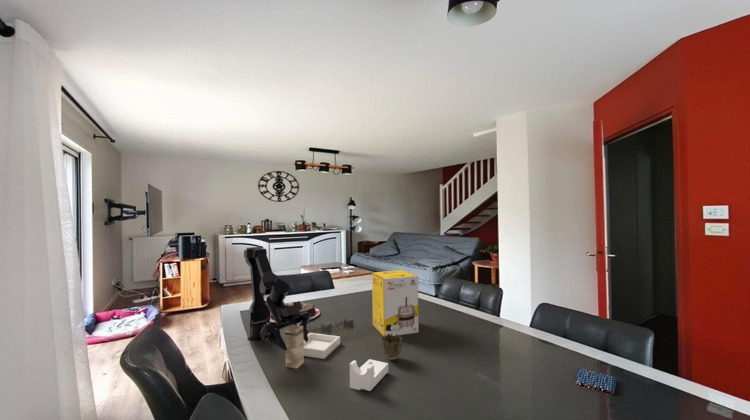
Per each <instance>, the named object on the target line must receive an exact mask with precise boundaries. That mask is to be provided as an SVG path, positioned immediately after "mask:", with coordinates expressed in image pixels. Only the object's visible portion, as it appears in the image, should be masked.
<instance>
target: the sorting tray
mask: <svg viewBox="0 0 750 420" xmlns="http://www.w3.org/2000/svg"><path fill="white" fill-rule="evenodd" d="M307 335H308V341H307V342H306V341H305V340H304V339H303V349H304V357H309V358H315V359H322V360H325V359H326V358H327V357H328V356H329V355H330V354H332V352H334V351H335V349H336V348H338V347H339V346H340V345H341V336H338V335H331V334H330V335H329V334H323V333H315V332H309V333H307Z"/></svg>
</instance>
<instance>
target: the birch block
mask: <svg viewBox="0 0 750 420" xmlns="http://www.w3.org/2000/svg"><path fill="white" fill-rule="evenodd" d="M284 335H285V336H284V343H285V345H286V348H287V350H286V351H284V353H285V368H291V369H298V368H300V366H302V365H303V364H304V363H305V362H304V360H305V359H304V357H305V356H304V349H303V326H296V325H295V324H294V325H292V326H289V327H286V328H284Z"/></svg>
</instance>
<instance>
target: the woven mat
mask: <svg viewBox="0 0 750 420" xmlns="http://www.w3.org/2000/svg"><path fill="white" fill-rule="evenodd" d="M574 376H575V377H574V379H573V383H574V384H575V383H576V385H578V384H579V385H581V383H582V385H584V386H586V388H587V387H588V388H587V389H589V388H590V389H592V388H596V390H597V389H600V388H601V390H602V391H603V390H605V389H606V390H605V391H608V390H609V391H608V393H609V392H612V391H613V392H612V393H615V390H616V389H617V382H618V380H617V377H616V376H611V375H610V374H609V375H608V374H607V375H606V374H604V373H601V372H600V373H599V372H596V371H594V370H588V369H584V368H581V367H579V368H578V369H576V372H575V375H574ZM616 380H617V381H616ZM595 382H596V383H595ZM579 385H578V386H579ZM591 387H592V388H591ZM615 388H616V389H615ZM616 391H617V390H616ZM615 394H616V393H615Z"/></svg>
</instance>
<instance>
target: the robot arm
mask: <svg viewBox="0 0 750 420" xmlns="http://www.w3.org/2000/svg"><path fill="white" fill-rule="evenodd" d="M267 253H268V252H267V248H264V247H262V246H251V247H250V246H249V247H246V249H245V250H243V257H244V259H245V264H247V266H248V267H249V270H250V281H251V282H250V283H251V284H250V285H251V294H252V295H251V296H252V297H251V298H252V301H251V304H250V305H249V312H248V314H247V317H246V324H247V326H249V336H248V337H247V340H253V341H264V340H266V342H268V341H269V342H271V343H273V344H274V345H276V346H277V347H278V348H280V349H281V350H282V351H284V352H285V351H286V350H287V348H286V345H285V340H284V339H283V337H282V335H281V330H283V329H287V328H288V327H290V326H292V325H296V326H303V339H304V340H305V341H306V342H307V341H308V329H307V328H308V327H307V325H308V322H310V321H309V319H310V317H311V316H310V314H309V312H303V313H300V310H301V309H302V304H301V303H300V302H301V301H299V300H298V301H294V302H295V303H293V305H291V306H289V305H285V302H284V300H285V299H286V297H287V295H288V292H289V291H290V286H289V284H288V283H287V282H286V281H284V280H282V277H280V278H279V276H278V275H277V274H276V273H274V271H273V270H272V266H271V264H270V260H269V258H268V255H267ZM265 296H267V297H266V298H265ZM296 313H300V314H299V315H298V316H297V317H296V319H292V318H293V317H295V314H296ZM271 314H272V315H271ZM270 316H271V319H274V320H275V322H270Z"/></svg>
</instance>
